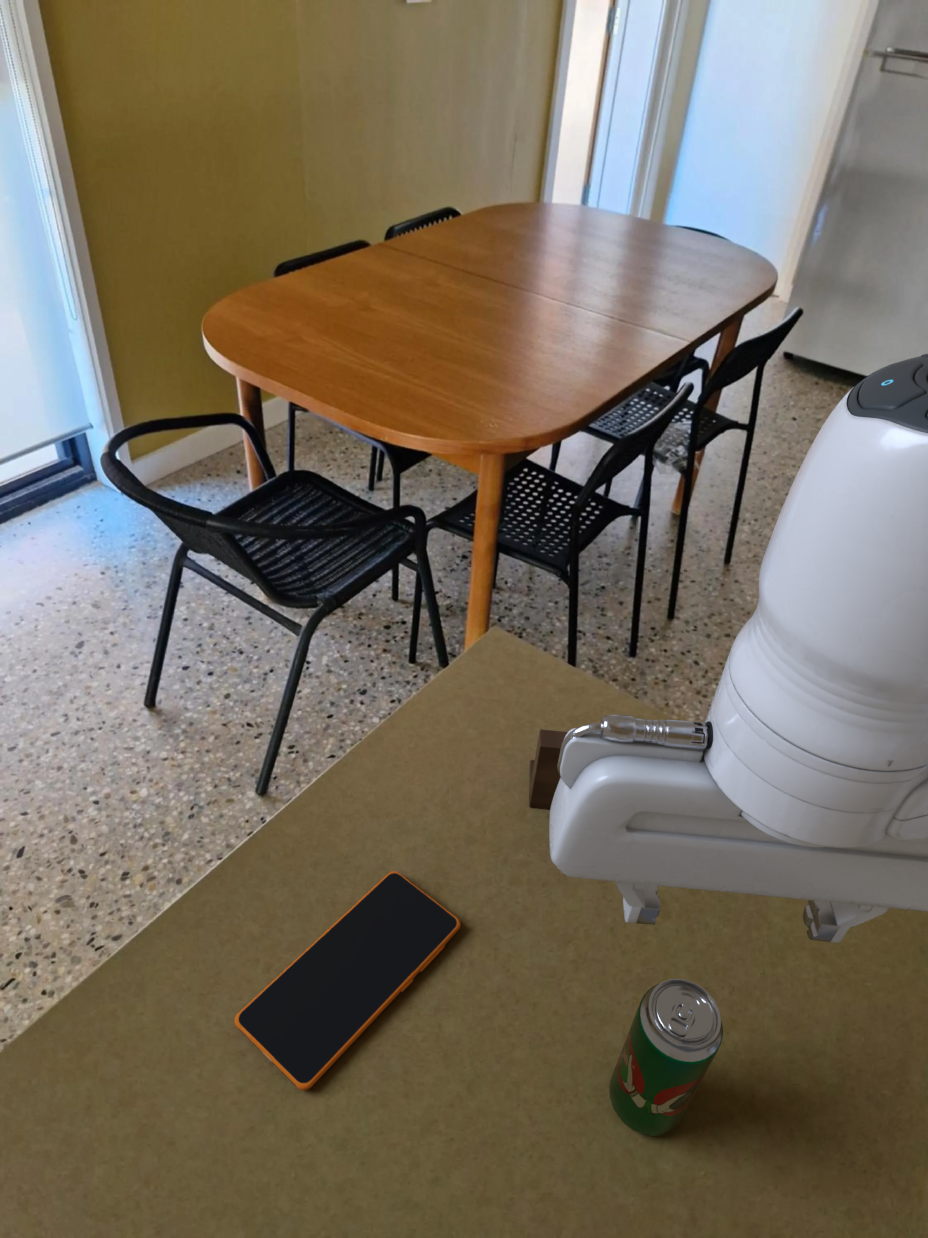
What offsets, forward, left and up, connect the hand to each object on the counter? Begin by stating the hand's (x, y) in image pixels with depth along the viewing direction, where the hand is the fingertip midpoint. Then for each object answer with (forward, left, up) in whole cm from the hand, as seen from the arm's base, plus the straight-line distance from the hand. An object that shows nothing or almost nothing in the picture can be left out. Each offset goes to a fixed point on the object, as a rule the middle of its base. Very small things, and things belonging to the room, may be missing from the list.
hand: (728, 921), depth 46 cm
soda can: (0, 0, -23) cm, 23 cm away
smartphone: (+22, +2, -22) cm, 31 cm away
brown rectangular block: (+11, -25, -22) cm, 35 cm away
